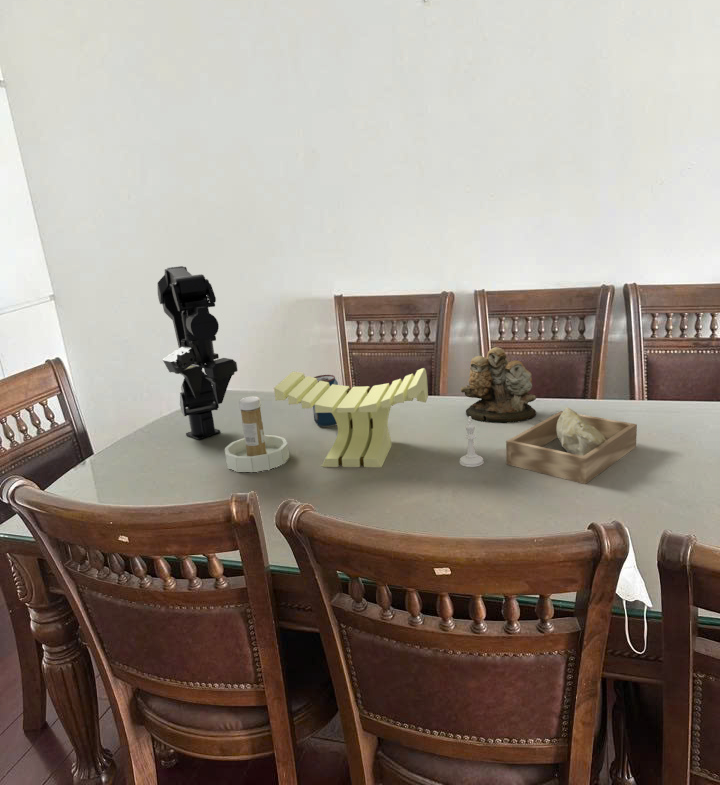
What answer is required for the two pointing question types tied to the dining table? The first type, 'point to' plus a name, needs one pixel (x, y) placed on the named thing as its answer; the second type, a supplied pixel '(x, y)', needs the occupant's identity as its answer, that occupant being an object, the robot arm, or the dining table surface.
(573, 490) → the dining table surface
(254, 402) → the sprinkles bottle
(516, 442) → the light brown wooden tray
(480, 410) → the owl figurine
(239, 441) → the bowl
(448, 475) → the dining table surface
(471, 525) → the dining table surface
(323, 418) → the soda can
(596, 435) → the pale beige rock
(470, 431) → the chess piece
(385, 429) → the slatted curved stool
